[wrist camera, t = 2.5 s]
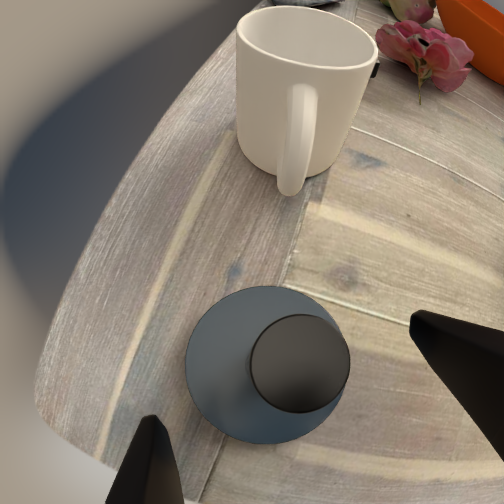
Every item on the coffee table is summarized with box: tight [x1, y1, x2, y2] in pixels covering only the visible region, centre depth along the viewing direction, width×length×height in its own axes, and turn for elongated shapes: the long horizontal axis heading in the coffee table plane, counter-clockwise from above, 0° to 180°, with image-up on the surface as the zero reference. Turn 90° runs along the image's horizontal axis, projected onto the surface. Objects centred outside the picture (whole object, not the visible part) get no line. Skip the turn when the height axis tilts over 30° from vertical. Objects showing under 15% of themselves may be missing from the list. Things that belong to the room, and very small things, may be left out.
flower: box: [375, 20, 474, 105], centre depth 25 cm, size 11×10×10 cm
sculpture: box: [379, 0, 436, 24], centre depth 34 cm, size 15×8×10 cm
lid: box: [185, 286, 350, 444], centre depth 12 cm, size 9×9×11 cm
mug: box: [236, 6, 378, 196], centre depth 18 cm, size 12×8×10 cm
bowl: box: [436, 0, 504, 85], centre depth 30 cm, size 25×25×10 cm
